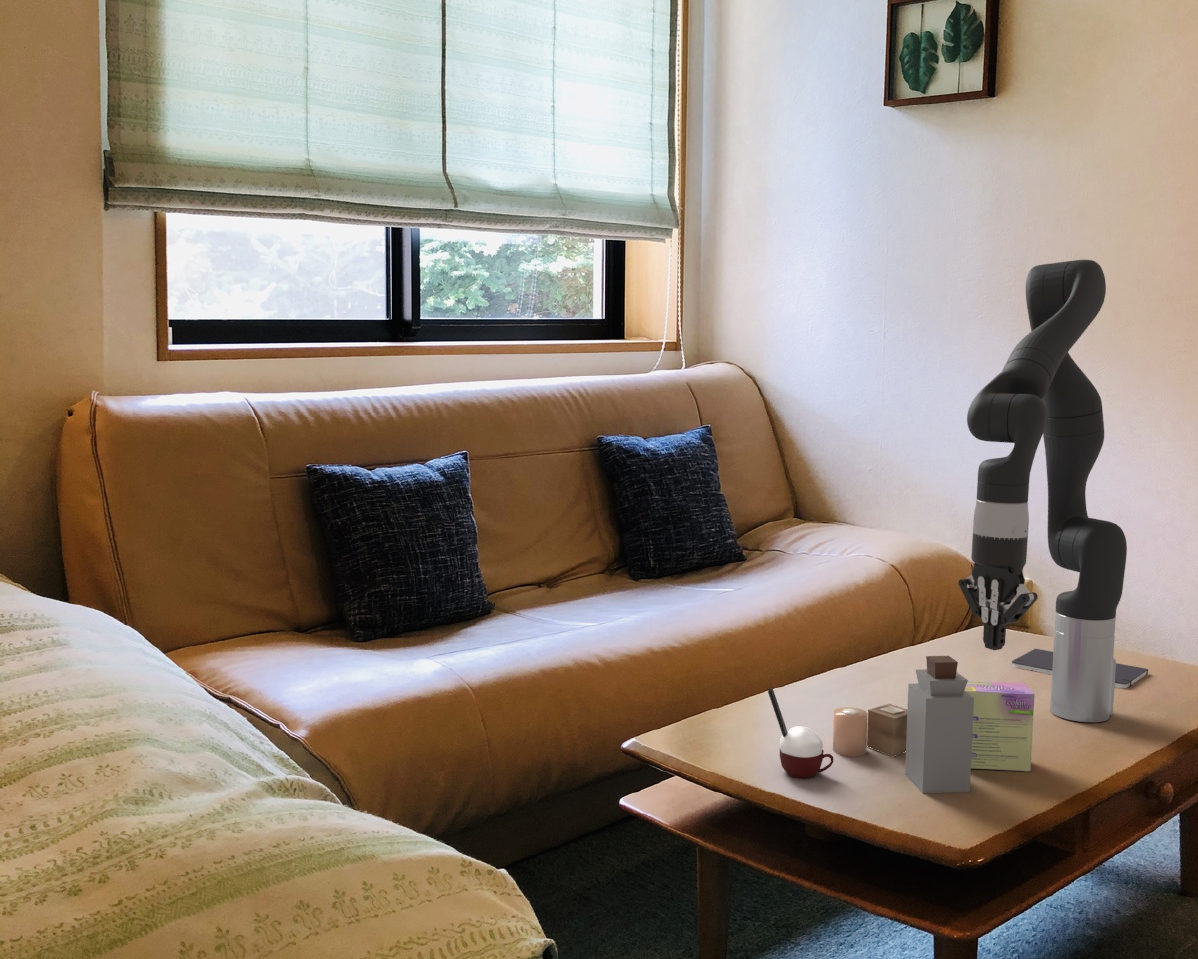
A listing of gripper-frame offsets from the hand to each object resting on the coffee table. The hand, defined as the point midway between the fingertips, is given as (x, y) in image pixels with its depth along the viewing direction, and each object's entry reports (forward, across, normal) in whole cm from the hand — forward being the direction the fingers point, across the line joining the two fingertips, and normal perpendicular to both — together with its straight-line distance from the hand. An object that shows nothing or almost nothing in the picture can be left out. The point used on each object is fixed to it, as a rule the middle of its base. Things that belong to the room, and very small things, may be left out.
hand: (993, 648), depth 163 cm
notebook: (+18, +25, -53) cm, 61 cm away
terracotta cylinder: (+18, +14, +14) cm, 27 cm away
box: (+18, 0, 0) cm, 18 cm away
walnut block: (+18, +12, +8) cm, 23 cm away
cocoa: (+18, +11, +27) cm, 34 cm away
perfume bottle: (+18, -2, +12) cm, 22 cm away
